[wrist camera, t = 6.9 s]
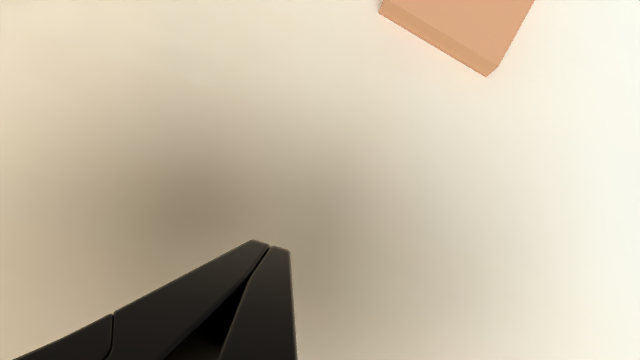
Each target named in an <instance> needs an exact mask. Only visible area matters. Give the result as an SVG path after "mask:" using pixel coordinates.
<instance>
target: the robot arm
mask: <svg viewBox="0 0 640 360" xmlns="http://www.w3.org/2000/svg"><path fill="white" fill-rule="evenodd" d="M13 360H297V346H296V331H295V317H294V302H293V288H292V273H291V259H290V252H289V251H288V250H286V249H283V248H279V247H276V246H271V247H270V246H269V244H266V243H263V242H260V241H257V240H250V241H248V242H246V243H244V244H242V245H240V246H238V247H236V248H235V249H233V250H231V251H229V252H227V253H225V254H223V255H221V256H219V257H217V258H215V259H214V260H212V261H210V262H208V263H206V264H204V265H202V266H200V267H198V268H196V269H195V270H193V271H191V272H189V273H187V274H185V275H183V276H181V277H179V278H177V279H175V280H174V281H172V282H170V283H168V284H166V285H164V286H162V287H160V288H158V289H156V290H154V291H153V292H151V293H149V294H147V295H145V296H143V297H141V298H139V299H137V300H135V301H133V302H132V303H130V304H128V305H126V306H124V307H122V308H120V309H118V310H116V311H115V312H114V313H113V315H112V314H108V315H106V316H105V317H103V318H101V319H99V320H97V321H95V322H93V323H91V324H89V325H87V326H85V327H83V328H81V329H79V330H77V331H75V332H73V333H71V334H69V335H67V336H65V337H63V338H61V339H59V340H56V341H54V342H52V343H50V344H47V345H45V346H43V347H41V348H38V349H36V350H34V351H32V352H29V353H27V354H25V355H23V356H20V357H18V358H16V359H13Z"/></svg>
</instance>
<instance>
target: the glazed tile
mask: <svg viewBox="0 0 640 360" xmlns="http://www.w3.org/2000/svg"><path fill="white" fill-rule="evenodd" d="M534 1H535V0H384V1H383V3H382V6H381V8H380V11H379V14H381V15H383V16H384V17H386V18H388V19H389V20H391V21H393V22H394V23H396V24H398V25H399V26H401V27H403V28H404V29H406V30H408V31H409V32H411V33H413V34H414V35H416V36H418V37H419V38H421V39H423V40H424V41H426V42H428V43H429V44H431V45H433V46H434V47H436V48H438V49H439V50H441V51H443V52H444V53H446V54H448V55H449V56H451V57H453V58H454V59H456V60H458V61H459V62H461V63H463V64H464V65H466V66H468V67H469V68H471V69H473V70H474V71H476V72H478V73H479V74H481V75H483V76H484V77H487V76H488V75H489V74H490V73H491V72H492V71H494V70H495V69H496V68H497V67H498V66H499V64H500V62H501V61H502V59H503V57H504V55H505V53H506V52H507V50H508V48H509V46H510V44H511V42H512V41H513V39H514V37H515V35H516V33H517V32H518V30H519V28H520V26H521V24H522V23H523V21H524V19H525V17H526V15H527V13H528V12H529V10H530V8H531V6H532V4H533V3H534Z"/></svg>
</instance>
